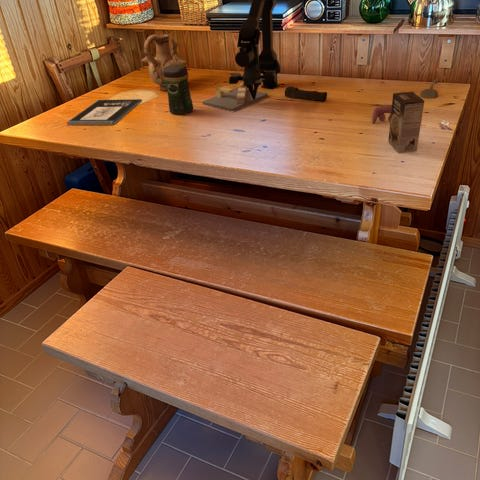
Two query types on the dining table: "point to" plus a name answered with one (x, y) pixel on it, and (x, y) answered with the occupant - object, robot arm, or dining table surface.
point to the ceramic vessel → (161, 58)
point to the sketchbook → (104, 112)
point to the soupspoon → (429, 92)
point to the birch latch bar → (241, 94)
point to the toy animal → (381, 113)
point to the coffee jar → (178, 89)
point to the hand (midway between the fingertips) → (254, 99)
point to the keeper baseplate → (231, 98)
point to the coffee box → (405, 121)
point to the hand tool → (305, 94)
